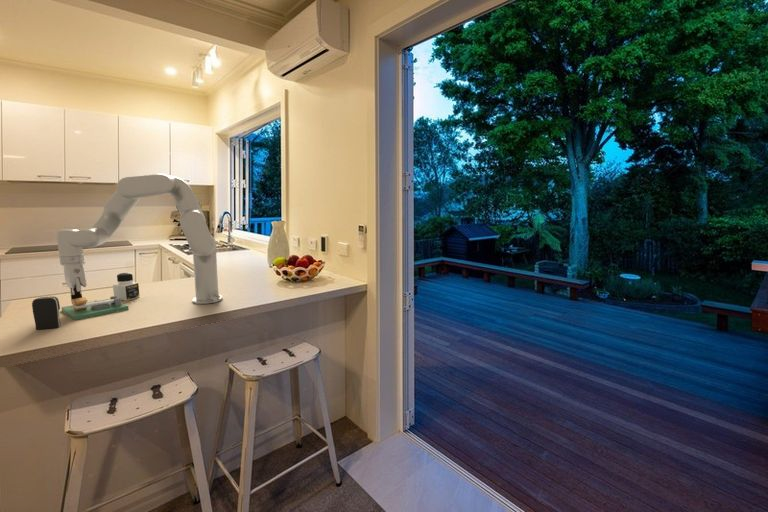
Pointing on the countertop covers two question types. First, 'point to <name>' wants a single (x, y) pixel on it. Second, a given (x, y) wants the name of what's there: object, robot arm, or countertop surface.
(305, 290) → the countertop surface
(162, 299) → the countertop surface
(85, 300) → the tan wooden block
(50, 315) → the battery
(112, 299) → the grey flat bar
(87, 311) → the board
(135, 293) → the medicine bottle
